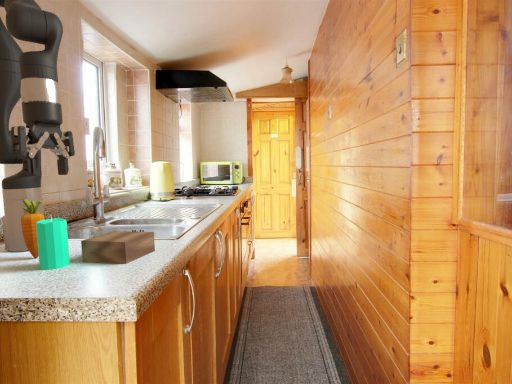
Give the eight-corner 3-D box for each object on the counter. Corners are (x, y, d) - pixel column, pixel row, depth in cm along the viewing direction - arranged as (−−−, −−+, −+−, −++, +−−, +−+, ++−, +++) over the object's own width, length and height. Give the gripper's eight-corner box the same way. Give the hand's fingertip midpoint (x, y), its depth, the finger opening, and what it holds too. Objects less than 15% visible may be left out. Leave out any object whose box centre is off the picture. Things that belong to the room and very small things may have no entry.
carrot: (52, 256, 89) (47, 197, 88) (34, 261, 84) (28, 199, 83) (37, 255, 90) (32, 197, 89) (19, 260, 86) (13, 199, 84)
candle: (48, 262, 82) (44, 212, 81) (74, 261, 83) (70, 211, 82) (34, 270, 76) (29, 216, 75) (62, 268, 77) (58, 215, 76)
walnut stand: (82, 261, 82) (81, 240, 82) (115, 249, 94) (114, 231, 93) (126, 263, 79) (124, 241, 79) (154, 250, 90) (153, 231, 90)
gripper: (54, 108, 85) (59, 175, 86) (-3, 98, 71) (4, 177, 72) (79, 106, 83) (85, 174, 84) (26, 94, 69) (33, 176, 70)
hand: (47, 175), depth 78 cm, fingers open, 8 cm apart
